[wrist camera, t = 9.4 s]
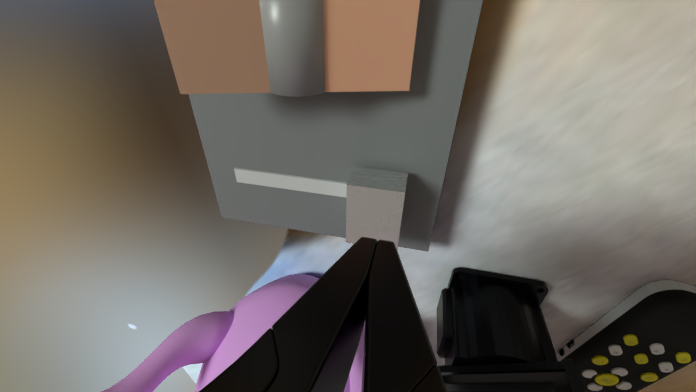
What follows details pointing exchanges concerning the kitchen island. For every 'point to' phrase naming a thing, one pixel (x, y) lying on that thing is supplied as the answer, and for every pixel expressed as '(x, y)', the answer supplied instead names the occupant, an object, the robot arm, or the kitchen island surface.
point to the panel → (343, 137)
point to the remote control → (637, 339)
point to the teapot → (226, 338)
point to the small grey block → (375, 204)
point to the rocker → (289, 45)
